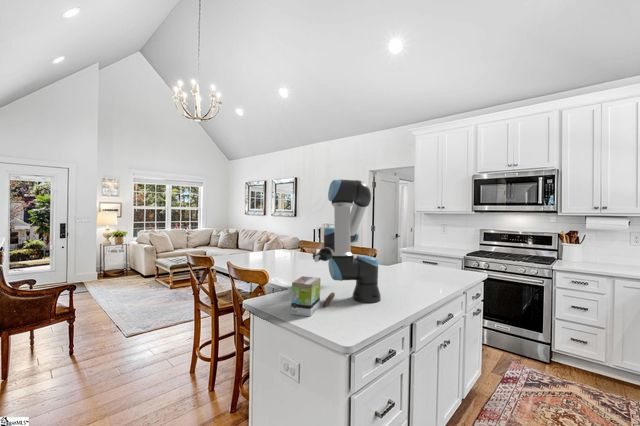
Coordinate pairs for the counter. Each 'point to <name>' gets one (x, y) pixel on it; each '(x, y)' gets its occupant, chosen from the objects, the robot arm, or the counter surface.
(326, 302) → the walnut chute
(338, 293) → the counter surface
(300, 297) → the tea box
